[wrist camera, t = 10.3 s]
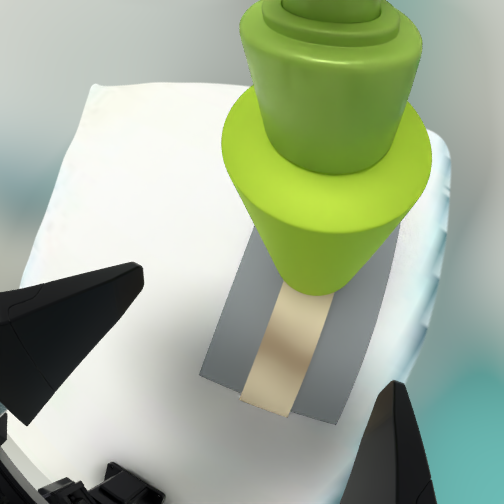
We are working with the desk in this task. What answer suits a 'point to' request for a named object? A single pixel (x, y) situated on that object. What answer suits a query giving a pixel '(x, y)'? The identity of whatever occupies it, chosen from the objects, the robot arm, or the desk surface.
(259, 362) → the ridge
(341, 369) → the base board
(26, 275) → the desk surface
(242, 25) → the soap dispenser
